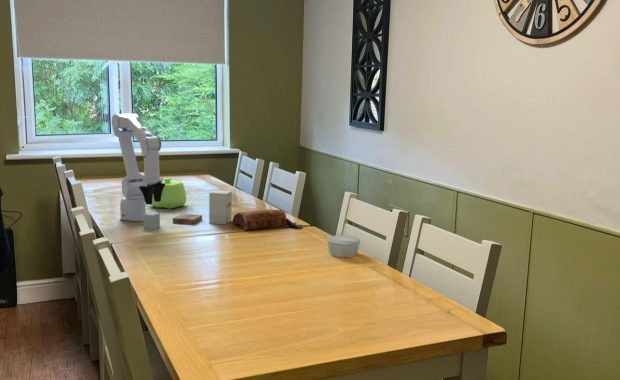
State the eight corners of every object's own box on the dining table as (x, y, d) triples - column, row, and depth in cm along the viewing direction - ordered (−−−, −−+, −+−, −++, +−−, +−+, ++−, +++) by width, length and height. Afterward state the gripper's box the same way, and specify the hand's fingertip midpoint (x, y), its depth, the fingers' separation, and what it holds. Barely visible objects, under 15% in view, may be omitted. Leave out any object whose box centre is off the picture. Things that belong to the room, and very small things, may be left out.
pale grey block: (143, 228, 229) (143, 214, 228) (149, 225, 234) (148, 212, 233) (154, 229, 228) (154, 215, 227) (159, 226, 233) (159, 212, 232)
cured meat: (307, 228, 238) (308, 211, 237) (250, 234, 226) (250, 216, 225) (287, 220, 253) (287, 204, 252) (232, 225, 241) (232, 208, 240)
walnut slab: (172, 224, 239) (172, 218, 239) (181, 219, 248) (181, 213, 248) (193, 225, 238) (193, 219, 237) (202, 221, 247) (202, 215, 246)
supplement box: (226, 224, 239) (226, 193, 237) (208, 223, 241) (208, 192, 239) (232, 220, 246) (232, 190, 244) (215, 219, 248) (215, 189, 246)
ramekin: (336, 260, 194) (337, 244, 193) (320, 251, 204) (321, 236, 203) (365, 256, 199) (366, 241, 199) (348, 248, 209) (349, 234, 208)
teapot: (133, 207, 266) (132, 179, 264) (160, 200, 285) (160, 173, 282) (167, 212, 259) (167, 182, 257) (193, 204, 278) (193, 177, 276)
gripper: (153, 169, 220) (154, 205, 222) (169, 166, 234) (170, 200, 236) (135, 169, 221) (137, 205, 223) (152, 166, 235) (154, 200, 237)
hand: (153, 203), depth 229 cm, fingers open, 7 cm apart
